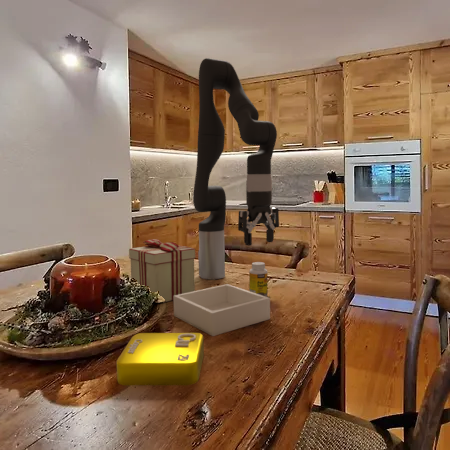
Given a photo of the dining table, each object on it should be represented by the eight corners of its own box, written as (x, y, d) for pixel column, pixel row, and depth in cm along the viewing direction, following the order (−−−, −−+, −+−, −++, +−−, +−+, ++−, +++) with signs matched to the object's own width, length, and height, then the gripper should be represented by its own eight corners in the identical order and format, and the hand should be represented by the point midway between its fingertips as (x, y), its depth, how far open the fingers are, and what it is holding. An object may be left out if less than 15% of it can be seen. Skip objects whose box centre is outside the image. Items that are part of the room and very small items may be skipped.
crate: (174, 315, 109) (173, 295, 108) (227, 302, 119) (227, 283, 119) (212, 336, 94) (212, 313, 94) (270, 318, 105) (269, 298, 104)
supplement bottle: (257, 299, 121) (256, 266, 120) (245, 295, 126) (245, 262, 124) (271, 296, 124) (271, 263, 123) (260, 292, 129) (259, 260, 128)
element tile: (135, 351, 88) (134, 330, 87) (204, 351, 87) (204, 329, 87) (114, 387, 73) (112, 362, 72) (197, 387, 72) (197, 361, 72)
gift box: (205, 292, 130) (203, 238, 128) (159, 306, 117) (157, 247, 115) (170, 283, 142) (168, 234, 140) (125, 295, 128) (122, 241, 126)
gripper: (268, 188, 128) (268, 239, 130) (232, 190, 120) (232, 244, 122) (285, 189, 122) (284, 242, 124) (248, 191, 114) (249, 248, 116)
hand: (259, 243), depth 123 cm, fingers open, 8 cm apart
